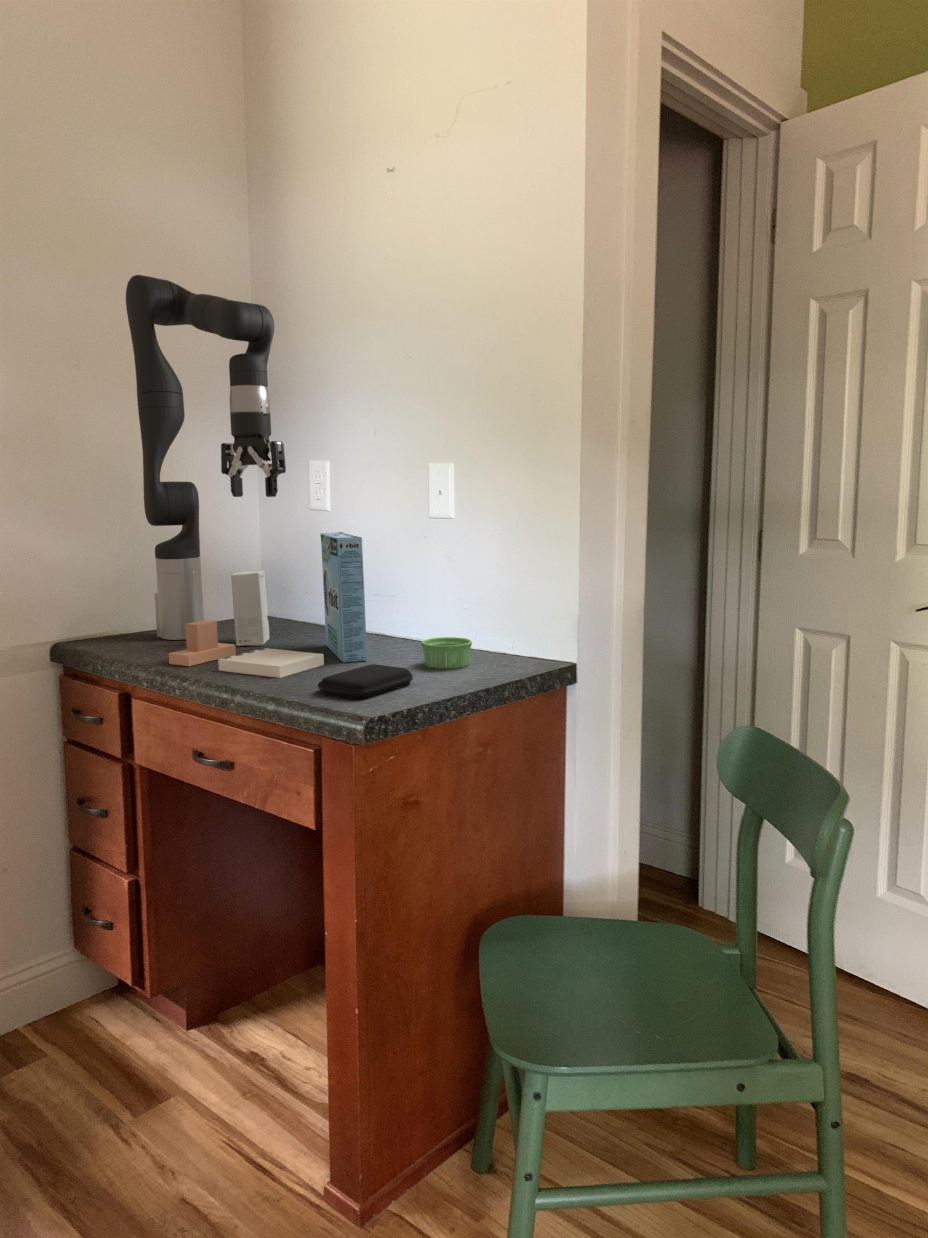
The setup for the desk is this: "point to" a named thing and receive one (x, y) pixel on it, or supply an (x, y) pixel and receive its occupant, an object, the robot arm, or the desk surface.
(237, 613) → the skincare box
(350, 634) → the gum box
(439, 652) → the ramekin
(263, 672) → the plate
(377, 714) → the desk surface
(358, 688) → the carrying case or bag
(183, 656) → the stub
